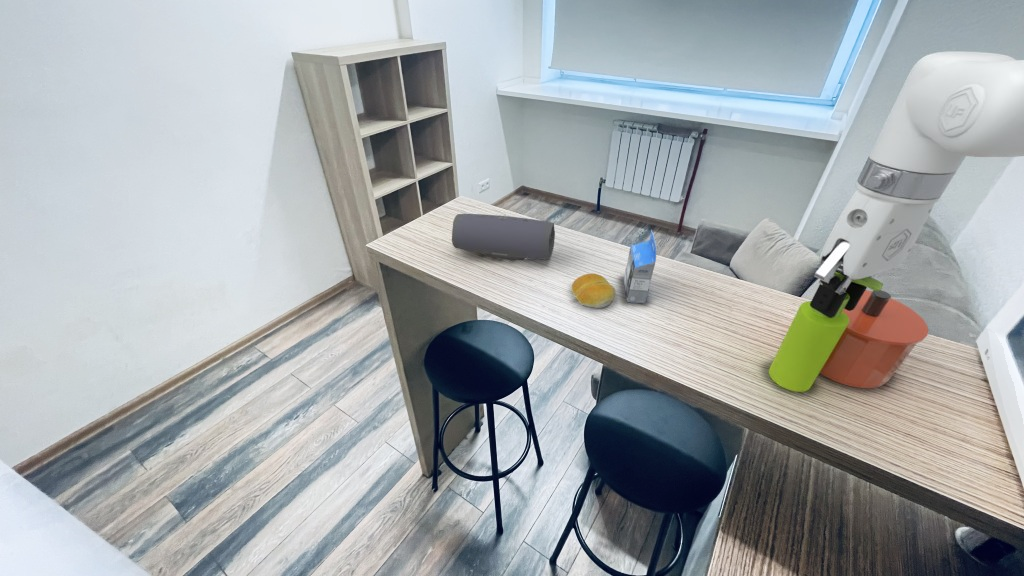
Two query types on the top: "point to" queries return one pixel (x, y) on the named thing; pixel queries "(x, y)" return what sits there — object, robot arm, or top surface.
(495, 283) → the top surface
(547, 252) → the bluetooth speaker
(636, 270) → the label tape box
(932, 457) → the top surface
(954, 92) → the robot arm
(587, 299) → the bread roll
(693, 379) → the top surface
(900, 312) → the pot lid
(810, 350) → the soap dispenser
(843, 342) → the pot
